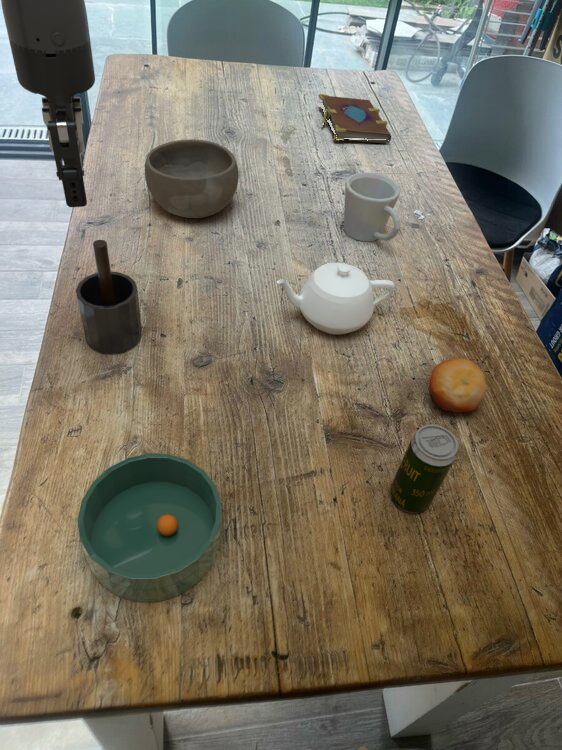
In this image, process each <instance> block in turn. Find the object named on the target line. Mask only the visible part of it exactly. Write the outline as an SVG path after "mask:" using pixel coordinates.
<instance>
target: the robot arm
mask: <svg viewBox="0 0 562 750" xmlns="http://www.w3.org/2000/svg"><path fill="white" fill-rule="evenodd" d="M0 3H1V9H2V10H1V11H2V15H3V19H4V24H5V28H6V33H7V37H8V41H9V46H10V50H11V55H12V60H13V65H14V69H15V74H16V78H17V81H18V83H19V85H20V86H21V87H22V88H23V89H24V90H25V91H28V92H30V93H31V94H35V95H37V94H38V95H40V96H42V97H41V103H42V107H41V113H42V121H43V123H44V125H45V126H46V131H47V137H48V142H49V144H48V145H49V149H50V152H51V153H52V154H53V156H54V157H53V158H54V162H55V167H56V172H55V174H56V177H57V178H58V181H61V183H62V188H63V193H64V199H65V204H66V206H67V207H68V208H83V207H87V204H88V200H87V199H88V198H87V194H86V186H85V182H84V177H85V168H84V159H83V154H84V153H85V151H86V149H85V141H84V134H83V126H84V116H83V106H82V99H81V97H80V96H76V95H78V94H83V93H85V92H88V91H89V90H90V89H92V87H93V86H94V84H95V82H96V75H95V74H96V73H95V65H94V59H93V51H92V43H91V42H92V41H91V35H90V29H89V20H88V13H87V7H86V2H85V0H0Z"/></svg>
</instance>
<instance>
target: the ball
mask: <svg viewBox="0 0 562 750" xmlns="http://www.w3.org/2000/svg"><path fill="white" fill-rule="evenodd" d="M177 528H178V522H177V519H176V518H175V517H174V516H172V515H168V514H167V515H163V516H162V517H160V518H159V520H158V522H157V530H158V532H159V533H160V534H161V535H163V536H170V535H172V534H174V533H175V532H176V530H177Z"/></svg>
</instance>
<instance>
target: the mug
mask: <svg viewBox="0 0 562 750" xmlns="http://www.w3.org/2000/svg"><path fill="white" fill-rule="evenodd" d="M344 187H345V188H344V211H343V212H344V215H343V228H344V229H343V230H344V232H345V234H346V235H347V236H349V238H352V239H353V240H355V241H360V242H365V243H366V242H369V243H370V242H375V241H376V240H382V241H390V240H392V239H394V238H395V237H396V236H397V235H398V233H399V231H400V229H401V220H400V217H399V214H398V213H397V211H396V210H395V206H396V204H397V201H398V200H399V196H400V195H401V188H400V186H399V185H398V183H397V182H396V181H394V180H393V179H392V178H390V177H388V176H385V175H383V174H380V173H375V172H367V171H365V172H357V173H354V174H351V175H349V176H348V177H347V179H346V180H345V186H344ZM390 217H391V218H392V222H393V228H392V230H391V231H390V232H389V233H386V234H385V233H383V232H384V230H385V228H386V226H387V224H388V222H389V219H390Z"/></svg>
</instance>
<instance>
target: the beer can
mask: <svg viewBox="0 0 562 750" xmlns="http://www.w3.org/2000/svg"><path fill="white" fill-rule="evenodd" d="M458 449H459V442H458V440H457V438H456V436H455V435H454V434H453V433H452V431H450V430H449V429H447V428H446V427H444V426H441V425H438V424H433V423H431V424H424V425H423V426H421V427H419V429H417V430H416V431H415V433H413V435H412V437H411V438H410V441H409V444H408V446H407V448H406V451H405V453H404V455H403V458H402V460H401V462H400V464H399V466H398V469H397V471H396V473H395V475H394V478H393V480H392V483H391V485H390V490H389V492H390V493H389V494H390V496H391V499H392V502H393V503H394V505H395V506H396V507H397V508H398V509H399V510H401V511H403V512H405V513H409V514H419V513H422V512H424V511H426V510H428V508H430V507H431V504H432V502H433V501H434V499H435V498H436V495H437V494H438V492H439V490H440V488H441V487H442V485H443V483H444V482H445V479H446V477H447V475H448V474H449V472H450V470H451V468H452V466H453V464H454V462H455V461H456V460H457V456H458Z"/></svg>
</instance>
